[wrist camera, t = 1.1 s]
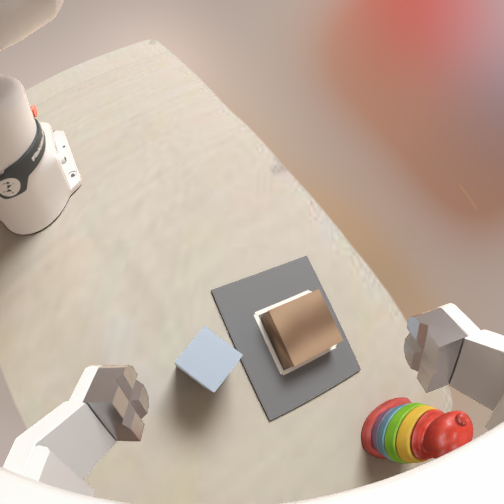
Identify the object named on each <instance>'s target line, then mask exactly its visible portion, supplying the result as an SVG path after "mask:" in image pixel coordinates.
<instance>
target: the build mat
mask: <svg viewBox="0 0 504 504" xmlns="http://www.w3.org/2000/svg"><path fill="white" fill-rule="evenodd" d="M317 289H319V290H320V292H321V294H322V296H323V298H324V300H325V303H326V305H327V307H328V309H329V311H330V313H331V315H332V317H333V319H334V321H335V324H336V326H337V328H338V330H339V332H340V334H341V336H342V338H343V341H341V342H339V343H338V344H336V345H334V346H332V347H331V348H329V349H327V350H325V351H323V352H321V353H319V354H318V355H316V356H314V357H312V358H310V359H308V360H306V361H304V362H302V363H300V364H298V365H296V366H294V367H287V368H284V366H283V364H282V362H281V360H280V357H279V355H278V353H277V351H276V349H275V347H274V344H273V342H272V340H271V338H270V336H269V333H268V331H267V329H266V327H265V325H264V322H263V320H262V318H261V316H262V315H264V314H265V313H266V312H267V311H268V310H271V309H273V308H275V307H278V306H280V305H283V304H285V303H287V302H290V301H292V300H294V299H297V298H299V297H301V296H304V295H306V294H308V293H311V292H313V291H315V290H317ZM211 291H212V294H213V296H214V299H215V301H216V303H217V306H218V308H219V310H220V313H221V315H222V318H223V320H224V322H225V325H226V327H227V329H228V332H229V334H230V336H231V338H232V341H233V343H234V345H235V348H236V350H237V351H239V352H240V353H241V354H243V356H242V357H241V361H242V363H243V365H244V368H245V370H246V372H247V374H248V376H249V379H250V381H251V383H252V385H253V387H254V389H255V392H256V394H257V396H258V398H259V400H260V402H261V404H262V406H263V408H264V411H265V413H266V415H267V417H268V419H269V420H270V421H271V420H273V419H275V418H277V417H279V416H281V415H283V414H285V413H287V412H289V411H290V410H292V409H294V408H296V407H298V406H300V405H302V404H304V403H306V402H307V401H309V400H311V399H313V398H315V397H316V396H318V395H320V394H322V393H323V392H325V391H327V390H328V389H330V388H332V387H334V386H335V385H337V384H339V383H340V382H342V381H343V380H345V379H347V378H348V377H350V376H351V375H353V374H355V373H356V372H358V371H359V370H361V369H360V366H359V364H358V362H357V360H356V358H355V355H354V353H353V351H352V349H351V347H350V344H349V342H348V340H347V338H346V336H345V334H344V331H343V329H342V327H341V325H340V323H339V321H338V319H337V317H336V315H335V312H334V310H333V308H332V306H331V304H330V302H329V300H328V298H327V296H326V294H325V292H324V290H323V288H322V286H321V284H320V281H319V279H318V277H317V275H316V273H315V271H314V269H313V267H312V265H311V263H310V261H309V259H308V257H307V256H305V257H302V258H299V259H296V260H294V261H291V262H288V263H286V264H283V265H280V266H277V267H275V268H272V269H269V270H266V271H264V272H261V273H258V274H255V275H253V276H250V277H247V278H244V279H241V280H239V281H236V282H233V283H230V284H227V285H225V286H222V287H219V288H216V289H213V290H211Z"/></svg>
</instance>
